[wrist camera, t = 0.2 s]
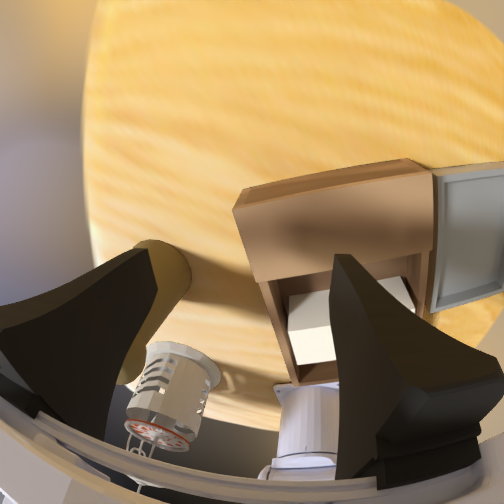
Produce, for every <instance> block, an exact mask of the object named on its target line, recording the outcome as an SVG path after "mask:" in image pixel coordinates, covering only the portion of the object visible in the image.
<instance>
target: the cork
mask: <svg viewBox="0 0 504 504" xmlns="http://www.w3.org/2000/svg"><path fill="white" fill-rule="evenodd" d="M134 248H148V251H149V256H150V260H151V264H152V268H153V271H154V275H155V279H156V283H157V286H158V292H157V295H156V297H155V300H154V303H153V305H152V308H151V310H150V312H149V314H148V316H147V317H146V319H145V321H144V323H143V325H142V327H141V328H140V330H139V332H138V334H137V336H136V337H135V339H134V341H133V343H132V345H131V347H130V349H129V351H128V353H127V355H126V357H125V359H124V362H123V365H122V367H121V370H120V373H119V376H118V379H117V382H116V384H118V385H125V384H128V383H130V382H132V381H134V380H135V379H136V378H137V377H138V376H139V375H140V374H141V372H142V371H143V368H144V366H145V362H146V355H147V349H146V344H147V343H148V342H149V340H150V339H151V338H152V336H153V335H154V334H155V332H156V331H157V330H158V328H159V327H160V325H161V324H162V323H163V321H164V320H165V319H166V317H167V316H168V315H169V313H170V312H171V311H172V309H173V308H174V307H175V306H176V304H177V303H178V302H179V300H180V299H181V298H182V296H183V295H184V294H185V292H186V291H187V290H188V288H189V287H190V284H191V280H192V277H191V269H190V267H189V265H188V262H187V260H186V259H185V258H184V257H183V255H182V254H181V253H180V252H179V251H178V250H177V249H175V248H174V247H173V246H171V245H170V244H167V243H165V242H162V241H160V240H145V241H141V242H139V243H138V244H137V245H135V246H134V247H133V249H134Z"/></svg>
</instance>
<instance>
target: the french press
mask: <svg viewBox="0 0 504 504" xmlns="http://www.w3.org/2000/svg"><path fill="white" fill-rule="evenodd" d="M146 349H147V355H146V364H147V366H146V368H145V370H144V373H143V374H142V376H143V375H144V376H145V377H143V378H142V376H141V378H140V380H139V383H138V385H139V384H140V383H141V384H142V385H141V386H138V385H137V387H136V390H135V392H134V394H135V393H136V392H137V393H139V394H138V395H136V396H135V395H133V396H132V399H131V401H130V403H129V405H128V407H127V410H126V412H127V415H128V416H129V418H130V419H128V420H126V421H125V423H124V425H125V427H126V429H127V430H128V431H129V432H131V433H130V436H129V439H128V443H127V449H126V451H128V448H129V442H130V439H131V436H132V434H133V435H135V436H137V437H139V439H142V441H141V444H140V448H139V449H138V448H132V449H131V450H130V452H133V450H138V451H139V455H141V452H142V453H143V454H144V457H146V454H145V453H144V451H142V450H141V449H142V445H143V442H144V441H146V442H147V443H148V442H149V443H150V444H152V445H153V446H152V449H151V452H150V455H149V458H151V456H152V453H153V450H154V447H156V446H158V447H161V448H163V449H164V448H165V449H166V450H171V451H174V450H175V451H177V452H178V451H180V452H181V451H182V452H184V451H187V450H189V449H190V444H189V442H188V441H193V440H194V439H196V437H197V434H198V430H199V427H200V423H201V418H202V415H203V412H204V408H205V405H206V401H207V398H208V393H209V391H210V389H213V388H215V387H216V386H217V385H218V384H219V383H220V382H221V372H220V370H219V369H218V367H217V365H216V363H214V362H213V361H212V360H211V359H209V358H208V357H207V356H206V355H205V354H203V353H201V352H199V351H197V350H195V349H193V348H191V347H189V346H187V345H183V344H179V343H175V342H171V341H170V342H155V343H152V344H150V345H148V346H147V347H146ZM145 380H146V381H145ZM160 387H161V388H163V389H165V393H164V395H163V394H161V393H159V390H160ZM206 397H207V398H206ZM203 400H205V401H204V403H203V404H201V403H200V402H201V401H203ZM204 404H205V405H204ZM200 409H201V410H202V411H201V412H200V413H196V412H197V411H198V410H200ZM151 410H152V411H155V412H157V414H156V416H155V417H154V419H153V420H152V421H151V422H148V421H147V420H148V417H149V415H150V412H151ZM201 414H202V415H201ZM175 424H176V425H178V426H179V427H181V428H185V429H191V430H193V431H194V432H192V433H190V434H185V433H181V432H179V431H177V430H176V429H174V426H175ZM127 476H129V475H127ZM129 477H130V478H132V479H134V480H135V481H136V482H137V483H138V484H140V485H139V488H138V491H137V493H138V494H139V491H140V488H141V485H143V486H145V485H150V486H156V487H161V488H165V487H162V486H158V485H155V484H152V483H149V482H146V481H143V480H140V479H137V478H134V477H131V476H129Z"/></svg>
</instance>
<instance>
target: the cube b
mask: <svg viewBox="0 0 504 504" xmlns="http://www.w3.org/2000/svg"><path fill="white" fill-rule="evenodd" d="M377 281H378V282H379V283H380V284H381V285H382V286H383V287H384V288H385V289H386V290H387V291H388V292H389V293H390V294H392V295H393V296H394V297H395V298H396V299H397V300H398V301H399V302H401V303H402V304H403V305H404V306H406V307H407V308H408V309H410V310H411V311H412V312H413V313H415V307H414V305H413V303H412V300H411V298H410V296H409V294H408V292H407V290H406V288H405V285H404V283H403V281H402V279H401V277H400V276H397V277H392V278H387V279H382V280H377Z"/></svg>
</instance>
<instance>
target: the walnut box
mask: <svg viewBox="0 0 504 504" xmlns="http://www.w3.org/2000/svg"><path fill="white" fill-rule="evenodd" d="M232 212H233V215H234V218H235V221H236V224H237V227H238V230H239V233H240V236H241V239H242V242H243V245H244V248H245V251H246V254H247V257H248V260H249V263H250V266H251V269H252V272H253V275H254V278H255V281H256V283H257V282H258V283H259V286H260V289H261V292H262V295H263V298H264V301H265V304H266V307H267V310H268V313H269V316H270V319H271V322H272V325H273V328H274V331H275V334H276V337H277V340H278V343H279V346H280V349H281V352H282V355H283V358H284V361H285V364H286V367H287V370H288V373H289V376H290V379H291V382H292V385H293V387H300V386H309V385H318V384H326V383H333V382H339V377H338V368H337V362H336V360H332V361H325V362H318V363H310V364H302V365H297V362H296V358H295V355H294V351H293V348H292V344H291V341H290V337H289V334H288V317H289V296H292V295H299V294H305V293H311V292H317V291H323V290H329V289H330V284H331V277H332V270H333V262H334V254H351V255H352V256H353V257H354V258H355V259H356V260H357V261H358V262H359V263H360V264H361V265H362V266H363V267H364V268H365V269H366V270H367V271H368V272H369V273H370V274H371V275H372V276H373V277H374V278H375V279H376V280H382V279H387V278H392V277H397V276H400V277H401V279H402V281H403V283H404V285H405V288H406V290H407V292H408V294H409V296H410V298H411V300H412V303H413V305H414V307H415V314H416V315H417V316H419V317H420V318H423V311H424V304H425V296H426V287H427V277H428V265H429V251H431V250H432V249H433V182H432V173H431V172H429V171H428V170H426V169H424V168H423V167H421V166H419V165H418V164H416V163H414V162H413V161H411V160H409V159H408V158H406V159H398V160H391V161H384V162H378V163H371V164H365V165H359V166H353V167H347V168H342V169H336V170H331V171H325V172H320V173H315V174H310V175H305V176H300V177H295V178H291V179H286V180H281V181H277V182H272V183H268V184H263V185H259V186H255V187H250V188H246V189H243V190H242V192H241V194H240V196H239V198H238V200H237V202H236V204H235V205H234V207H233V209H232Z"/></svg>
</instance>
